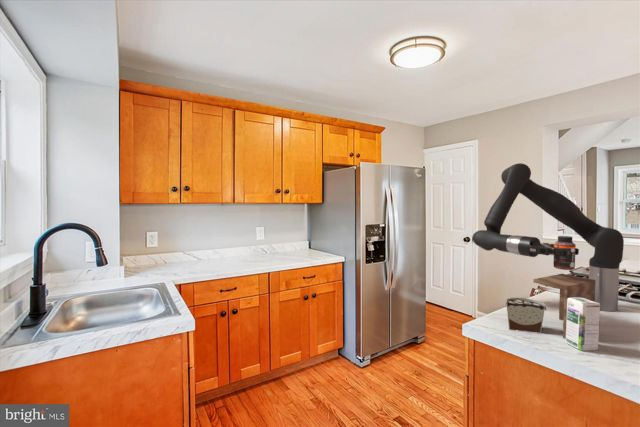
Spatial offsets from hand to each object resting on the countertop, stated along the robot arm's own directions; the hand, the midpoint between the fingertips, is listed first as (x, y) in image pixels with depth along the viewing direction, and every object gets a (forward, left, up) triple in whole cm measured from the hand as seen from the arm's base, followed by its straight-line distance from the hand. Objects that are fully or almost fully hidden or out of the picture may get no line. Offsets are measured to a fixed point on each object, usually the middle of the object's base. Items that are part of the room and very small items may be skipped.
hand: (572, 252), depth 108 cm
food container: (+13, -9, -27) cm, 31 cm away
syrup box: (+11, +8, -27) cm, 30 cm away
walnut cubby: (+1, -2, -27) cm, 27 cm away
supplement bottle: (0, -3, -6) cm, 7 cm away
